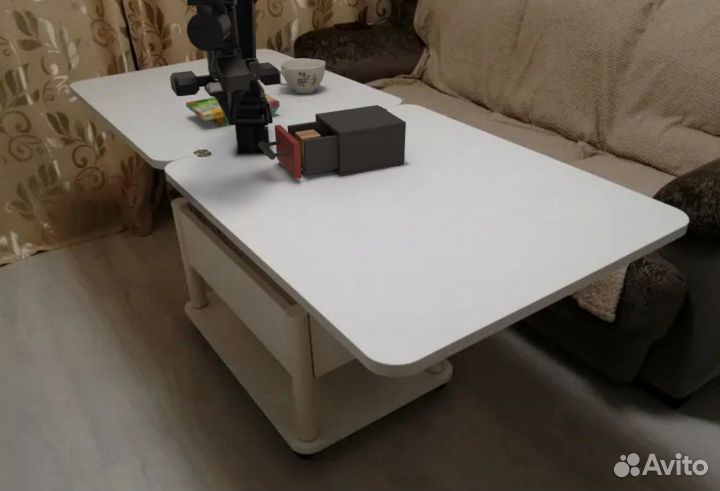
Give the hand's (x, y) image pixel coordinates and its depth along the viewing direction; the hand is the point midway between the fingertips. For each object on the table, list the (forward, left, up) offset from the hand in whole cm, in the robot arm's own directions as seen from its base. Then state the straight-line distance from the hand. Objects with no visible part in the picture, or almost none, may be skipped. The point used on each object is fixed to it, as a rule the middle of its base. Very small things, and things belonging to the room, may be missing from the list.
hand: (231, 124), depth 110 cm
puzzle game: (-4, +40, -12) cm, 42 cm away
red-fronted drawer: (+14, +5, -11) cm, 18 cm away
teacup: (+13, +61, -12) cm, 63 cm away
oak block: (+14, +5, -10) cm, 18 cm away
